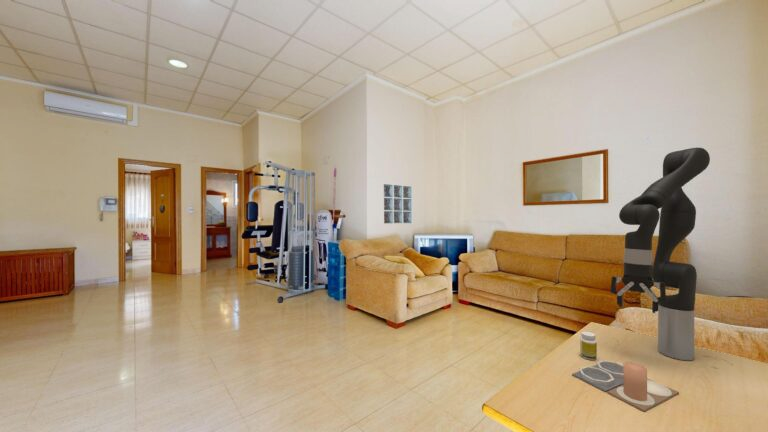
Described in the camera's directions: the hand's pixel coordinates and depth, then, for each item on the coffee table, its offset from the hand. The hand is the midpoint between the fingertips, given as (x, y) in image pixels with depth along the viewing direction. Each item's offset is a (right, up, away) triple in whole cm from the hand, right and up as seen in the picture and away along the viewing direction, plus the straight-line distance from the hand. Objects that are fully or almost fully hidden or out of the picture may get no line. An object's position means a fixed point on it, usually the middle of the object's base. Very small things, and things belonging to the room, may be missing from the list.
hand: (636, 309), depth 100 cm
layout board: (-15, -18, -13) cm, 27 cm away
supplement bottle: (-14, -18, +3) cm, 24 cm away
